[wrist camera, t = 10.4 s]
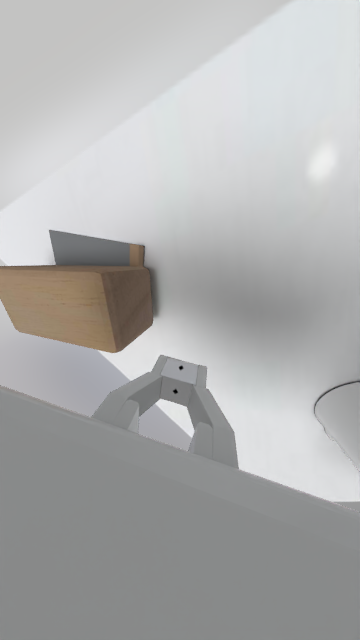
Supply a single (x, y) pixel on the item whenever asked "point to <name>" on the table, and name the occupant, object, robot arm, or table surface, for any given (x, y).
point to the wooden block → (79, 303)
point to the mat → (94, 251)
